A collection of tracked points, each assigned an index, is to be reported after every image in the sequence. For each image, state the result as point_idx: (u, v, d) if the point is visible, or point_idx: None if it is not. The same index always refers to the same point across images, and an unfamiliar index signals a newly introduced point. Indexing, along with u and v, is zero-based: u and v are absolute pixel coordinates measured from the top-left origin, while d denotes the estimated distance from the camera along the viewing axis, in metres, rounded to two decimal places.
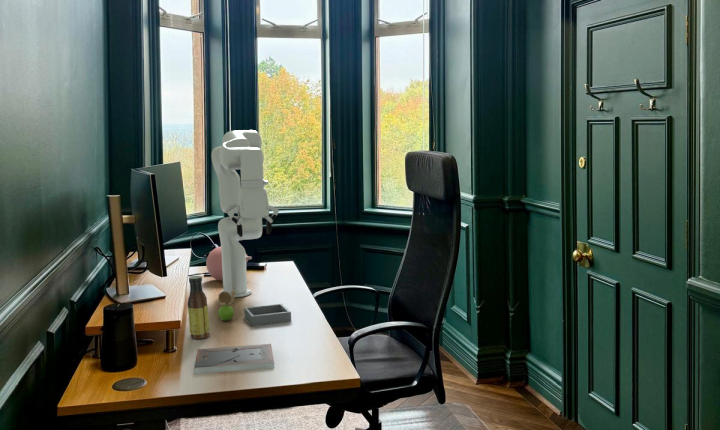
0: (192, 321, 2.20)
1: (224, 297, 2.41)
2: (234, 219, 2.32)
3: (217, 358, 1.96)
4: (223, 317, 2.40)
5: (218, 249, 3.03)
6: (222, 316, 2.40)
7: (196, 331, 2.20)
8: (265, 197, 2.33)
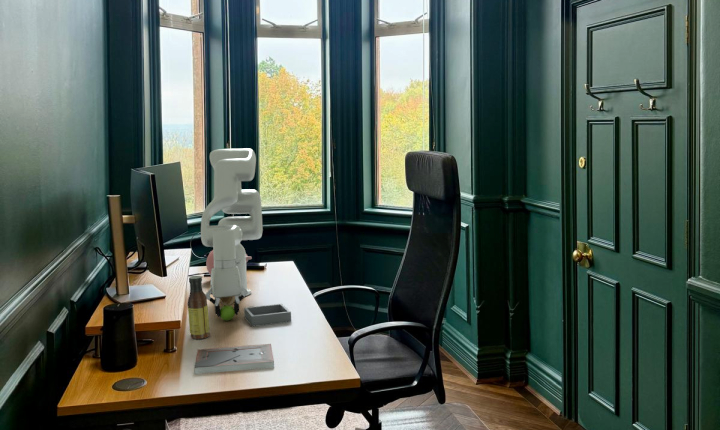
0: (192, 321, 2.20)
1: (225, 297, 2.41)
2: (212, 300, 2.39)
3: (217, 358, 1.96)
4: (224, 317, 2.40)
5: None
6: (223, 316, 2.40)
7: (196, 331, 2.20)
8: (237, 276, 2.40)
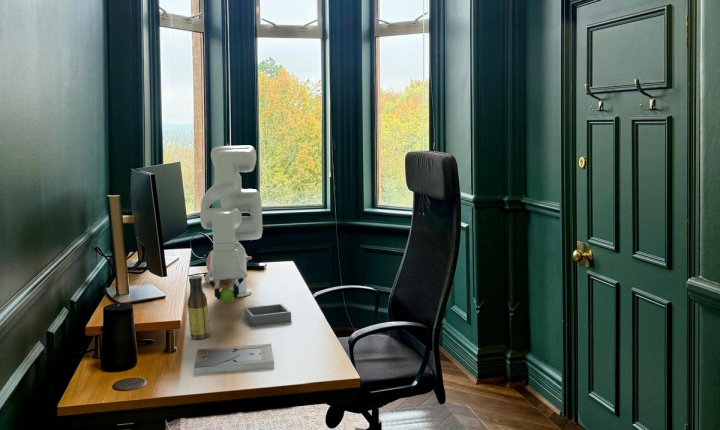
0: (192, 321, 2.20)
1: (225, 280, 2.41)
2: (211, 283, 2.38)
3: (217, 358, 1.96)
4: (224, 300, 2.40)
5: None
6: (223, 299, 2.40)
7: (196, 331, 2.20)
8: (237, 259, 2.39)
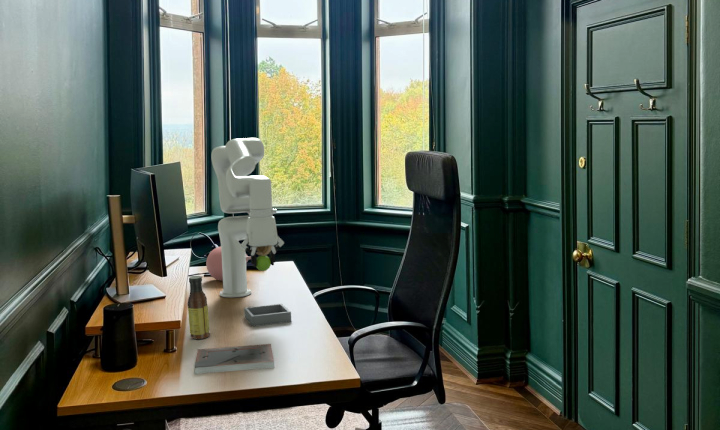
0: (192, 321, 2.20)
1: (261, 247, 2.39)
2: (248, 250, 2.37)
3: (217, 358, 1.96)
4: (260, 267, 2.38)
5: (218, 249, 3.03)
6: (259, 266, 2.38)
7: (196, 331, 2.20)
8: (273, 225, 2.37)
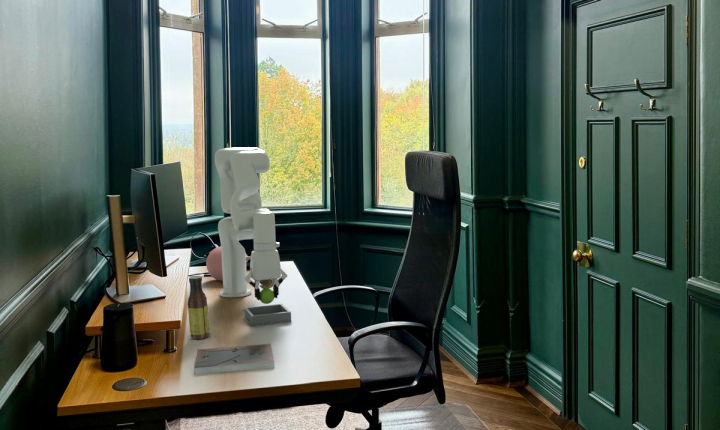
0: (192, 321, 2.20)
1: (265, 280, 2.41)
2: (252, 283, 2.38)
3: (217, 358, 1.96)
4: (264, 300, 2.39)
5: (218, 249, 3.03)
6: (263, 299, 2.39)
7: (196, 331, 2.20)
8: (277, 259, 2.39)
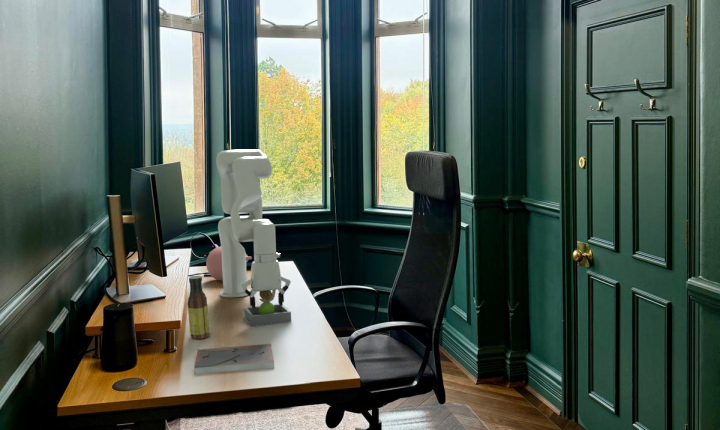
0: (192, 321, 2.20)
1: (265, 293, 2.42)
2: (247, 292, 2.38)
3: (217, 358, 1.96)
4: (264, 313, 2.40)
5: (218, 249, 3.03)
6: (263, 312, 2.40)
7: (196, 331, 2.20)
8: (277, 270, 2.39)
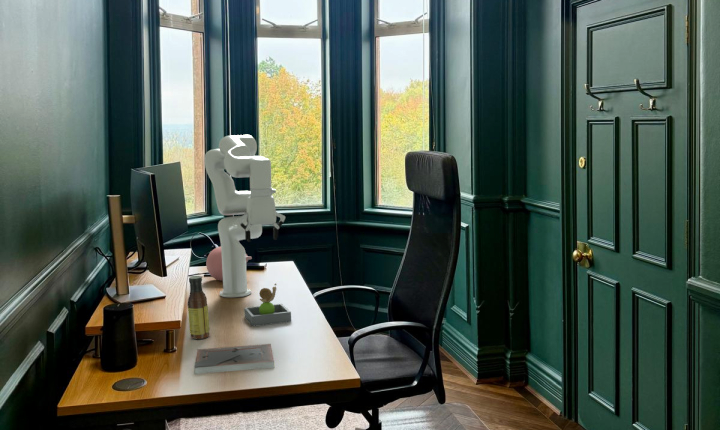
0: (192, 321, 2.20)
1: (265, 294, 2.42)
2: (243, 225, 2.45)
3: (217, 358, 1.96)
4: None
5: (218, 249, 3.03)
6: (263, 313, 2.40)
7: (196, 331, 2.20)
8: (272, 205, 2.46)
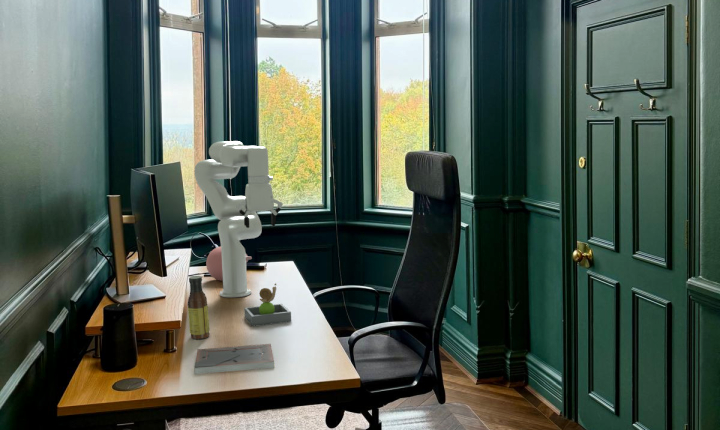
0: (192, 321, 2.20)
1: (265, 294, 2.42)
2: (242, 212, 2.53)
3: (217, 358, 1.96)
4: None
5: (218, 249, 3.03)
6: (263, 313, 2.40)
7: (196, 331, 2.20)
8: (270, 192, 2.55)
